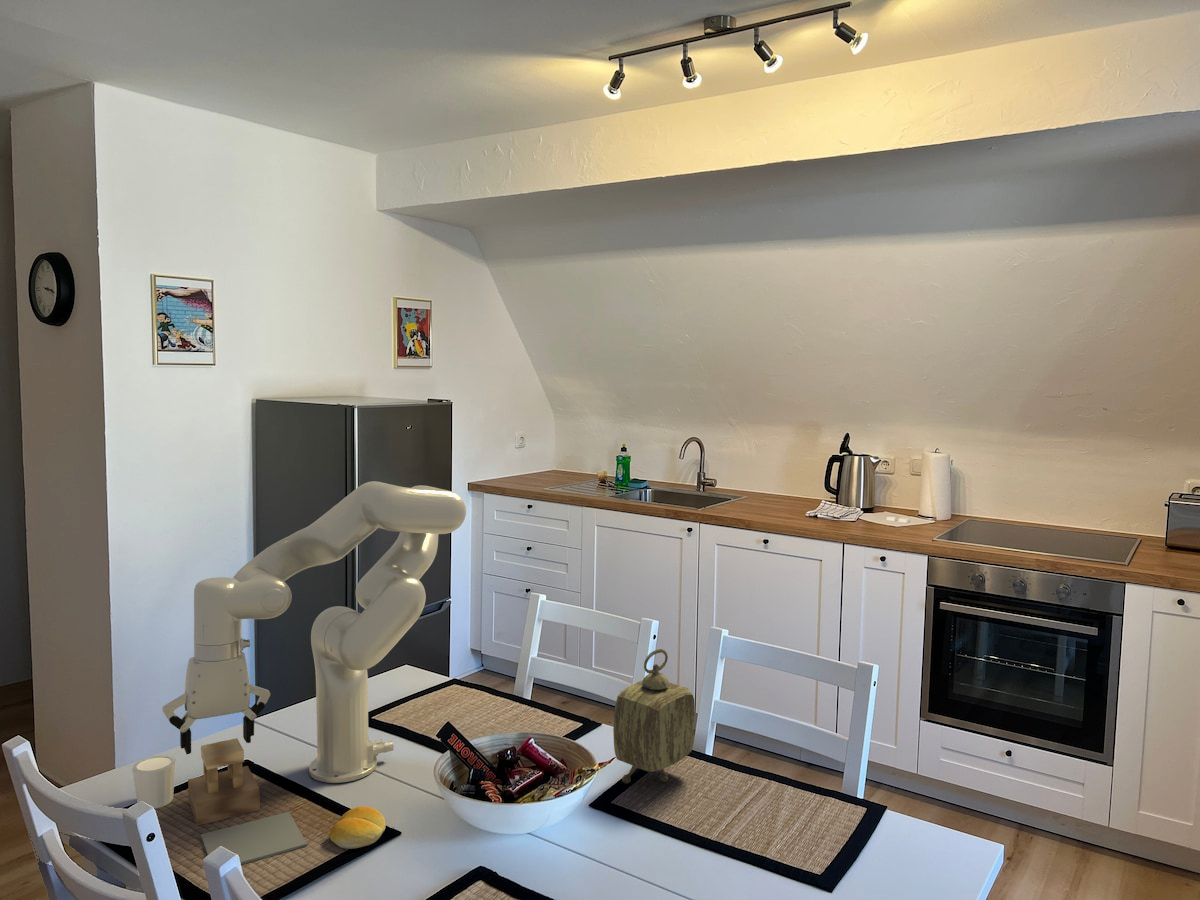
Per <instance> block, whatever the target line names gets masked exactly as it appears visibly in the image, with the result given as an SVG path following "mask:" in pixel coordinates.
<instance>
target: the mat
mask: <svg viewBox="0 0 1200 900" xmlns="http://www.w3.org/2000/svg"><path fill="white" fill-rule="evenodd" d="M200 838H201V840H202V844H203V846H204V849H205V852H206V856H208V854H209V853H210V852H212V851H213V850H214V849H216V848H217V847H219V846H223V847H226V848H228V849H230V850H232V851H234V852H236V853H238V854H239V855H240V859H241V864H242V865H245V864H248V863H252V862H256V861H259V860H263V859H267V858H269V857H270V858H271V857H273V856H277V855H280V854H283V853H286V852H287V853H288V852H291V851H295V850H298V849H302V848H305V847H308V843H307V841H306V840H305V838H304V835H303V834H302V832H301V831H300V829H299V827H298V825H297V823H296V822H295V820H294V818H293V816H292V815H291V812H290V811H287V812H283V813H279V814H273V815H271V816H266V817H264V818H259V819H256V820H250V821H248V822H244V823H239V824H236V825H233V826H228V827H224V828H221V829H216V830H213V831H209V832H206V833H201V834H200Z"/></svg>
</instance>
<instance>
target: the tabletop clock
mask: <svg viewBox="0 0 1200 900" xmlns="http://www.w3.org/2000/svg"><path fill="white" fill-rule="evenodd" d="M660 653H662V654H663V655H664V656H665V657H664V661H663V663H662V664H660V665H659V664H653V666H652V669H648V668H647V664H648V662H649V660H650V659H651V658H652V657H653V656H654V655H657V654H660ZM667 663H668V653H667V651H666V650H665V649H661V648H660V649H658V648H657V649H655V650H652V651H651V652H650V653H649V654H647V656H646V657H645V660H644V662H643V669H644V672H646V674H647V675H645V677H643V679H642V680H638V681H637V682H634V683H633V684H630V685H629V686H627V687H625V688H624V689H623V690H621V691H620V693H619V694H618V695H617V697H616V702H615V705H614V715H613V729H612V731H613V749H614V750H613V751H614V755H615V757H616V760H618V761H619V762H623V763H625V764H628V765H630V766H631V768H630V770H629V772H628V774H624V775H623V776H622V778H621V779H622V782H623V783H624V784H629V783H630V782H631V780H632V779H631V776H632V775H633V774H634V772H635V771H636V770H637V769H641V770H643V771H645V772H649V773H653V772H658V771H660V772H661V773H660V775H659V780H660V782H662V783H666V782H668V779H669V775H668V774H667V773H665V769H666V768H669V767H671V766H673V765H675V764H677V763H678V762H680V761H681V760H683V759H685V758H686V757H687V756H689V754H690V753H691V752H692V751H693V746H694V740H695V725H696V709H695V708H696V707H695V706H696V705H695V698H694V695H693V693H692V692H691V690H689V688H688V687H685V686H683V685H679V684H676V683H673V682H670V681H669V680H668V678H667V677H666V676H665V675H664V673H661V672H660V671H661V670H662V669H663V668H665V666H666V665H667Z"/></svg>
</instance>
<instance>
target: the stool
mask: <svg viewBox="0 0 1200 900" xmlns="http://www.w3.org/2000/svg"><path fill="white" fill-rule="evenodd" d="M200 755H201V756H200V757H201V759H202V762H203V763H202V764H203V767H202V769H203V776H204V783H205V785H206V784H207V789H208V793H209V794H212V793H216V792H218V771H219V768H222V767H227V770H228V777H229V779H232V785H233V787H234V788H237V787H241V786H243V768H242V767H243V763H245V750H244V749H243V746H242V745H241V743H240V741H239V739H238V738H237V737H236V738H232V739H226V740H222V741H217V742H212V743H208V744H203V745H200Z"/></svg>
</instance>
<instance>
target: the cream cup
mask: <svg viewBox="0 0 1200 900" xmlns="http://www.w3.org/2000/svg"><path fill="white" fill-rule="evenodd" d="M131 770H132V776H133V783H134V788H135V797H136V803H137V802H138V801H144V802H146V803H148V804H150V805H152V806H153V807H154V808H155V809H158V808H163V807H164V806H165V807H166V806H167V805H169V804H171V802H172V801H173V799H174V790H175V789H174V788H175V774H176V773H175V772H176V758H174V757H173V756H170V755H156V756H150V757H146V758H144V759H141V760H139V761H137V762H135V764H133V766H132V768H131Z"/></svg>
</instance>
